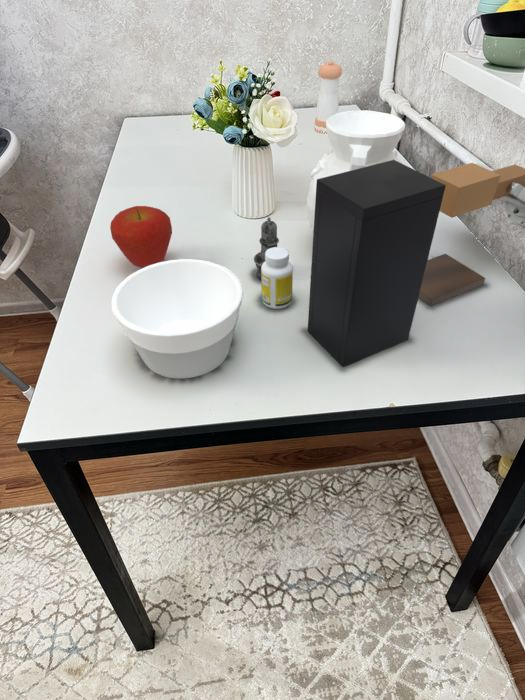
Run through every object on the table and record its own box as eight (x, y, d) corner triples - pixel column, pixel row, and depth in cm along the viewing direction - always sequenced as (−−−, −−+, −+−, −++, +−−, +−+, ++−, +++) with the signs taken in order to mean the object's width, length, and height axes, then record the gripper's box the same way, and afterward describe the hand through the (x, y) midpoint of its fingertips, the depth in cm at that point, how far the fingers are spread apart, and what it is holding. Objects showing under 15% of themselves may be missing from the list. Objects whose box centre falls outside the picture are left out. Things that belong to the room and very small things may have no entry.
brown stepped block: (532, 191, 84) (543, 162, 81) (451, 217, 78) (459, 187, 74) (504, 178, 88) (513, 150, 85) (425, 203, 82) (431, 174, 78)
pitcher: (393, 278, 92) (420, 143, 76) (297, 268, 96) (302, 135, 79) (396, 231, 106) (419, 107, 89) (311, 223, 109) (318, 102, 92)
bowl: (246, 310, 86) (243, 256, 79) (245, 389, 72) (242, 333, 64) (136, 312, 86) (124, 259, 79) (114, 393, 72) (96, 337, 64)
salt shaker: (327, 124, 158) (332, 57, 146) (342, 131, 154) (348, 61, 141) (309, 129, 156) (313, 60, 143) (324, 135, 151) (328, 65, 138)
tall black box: (408, 340, 79) (446, 185, 62) (342, 368, 75) (364, 209, 57) (369, 307, 86) (393, 159, 68) (307, 331, 81) (316, 179, 64)
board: (483, 284, 91) (485, 278, 90) (430, 306, 86) (432, 299, 85) (443, 260, 97) (445, 253, 96) (392, 278, 93) (394, 271, 92)
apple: (118, 283, 93) (104, 225, 85) (122, 253, 101) (109, 198, 93) (177, 277, 94) (168, 219, 86) (176, 249, 102) (168, 193, 94)
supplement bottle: (295, 295, 89) (297, 247, 82) (286, 312, 85) (288, 264, 79) (267, 289, 90) (266, 242, 84) (257, 306, 87) (256, 258, 80)
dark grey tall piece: (290, 271, 95) (291, 214, 87) (274, 286, 91) (274, 228, 83) (264, 263, 97) (263, 206, 89) (248, 277, 94) (245, 219, 85)
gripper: (498, 168, 97) (463, 144, 88) (594, 208, 84) (564, 185, 75) (479, 198, 100) (443, 177, 91) (569, 241, 87) (537, 222, 78)
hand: (499, 181), depth 83 cm, fingers closed on brown stepped block, 4 cm apart
